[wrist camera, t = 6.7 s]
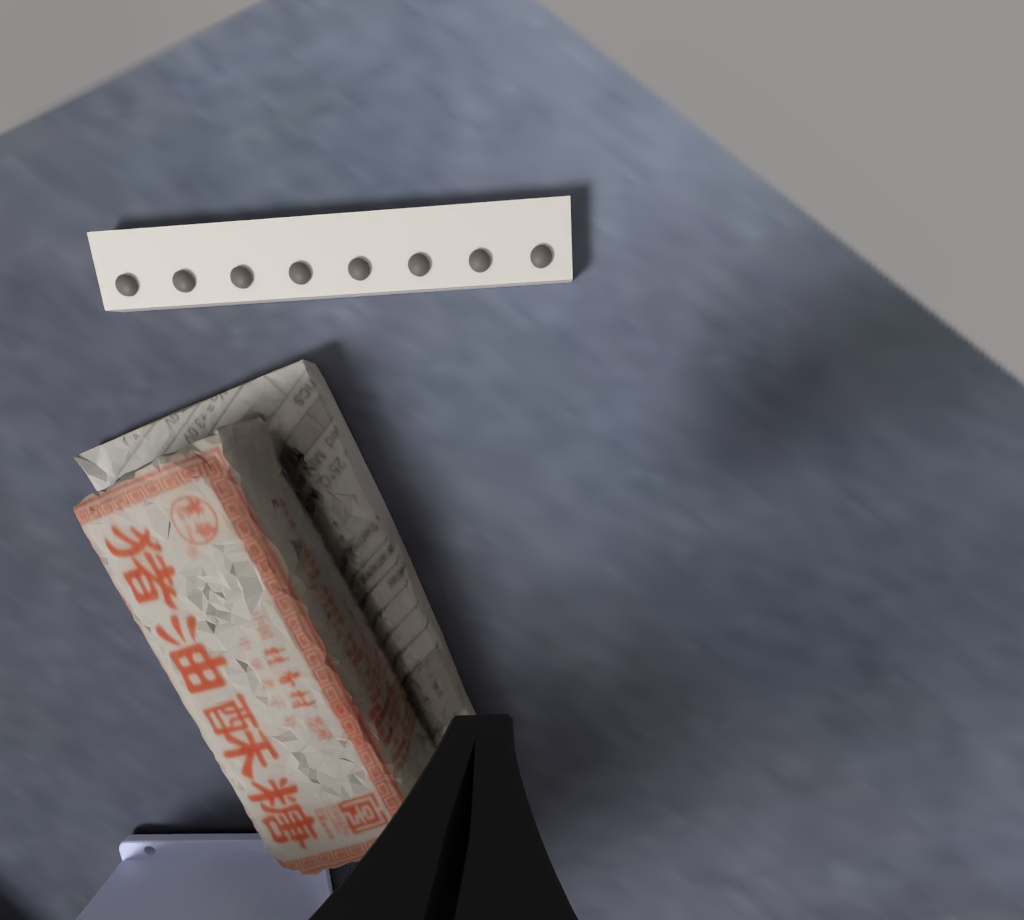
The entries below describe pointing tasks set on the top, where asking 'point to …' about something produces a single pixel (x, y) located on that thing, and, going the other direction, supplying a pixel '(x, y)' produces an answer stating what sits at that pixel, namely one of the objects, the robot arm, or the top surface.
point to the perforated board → (336, 255)
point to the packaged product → (279, 608)
